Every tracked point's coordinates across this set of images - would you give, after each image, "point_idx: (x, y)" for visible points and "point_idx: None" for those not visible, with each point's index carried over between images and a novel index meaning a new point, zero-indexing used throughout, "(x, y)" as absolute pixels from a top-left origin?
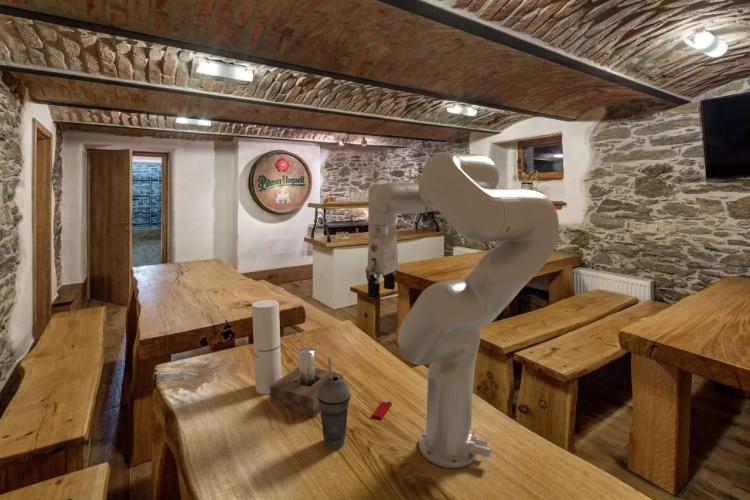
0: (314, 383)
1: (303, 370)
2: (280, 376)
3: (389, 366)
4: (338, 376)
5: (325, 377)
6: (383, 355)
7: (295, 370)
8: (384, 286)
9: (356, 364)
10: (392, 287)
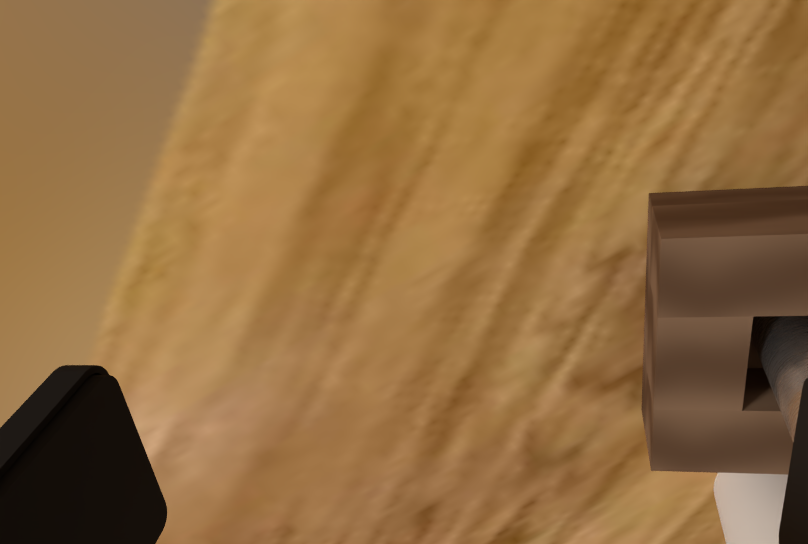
0: (803, 322)
1: None
2: (775, 491)
3: (255, 119)
4: (694, 249)
5: (739, 303)
6: (171, 214)
7: (733, 464)
8: (152, 538)
9: (353, 283)
10: (98, 410)
